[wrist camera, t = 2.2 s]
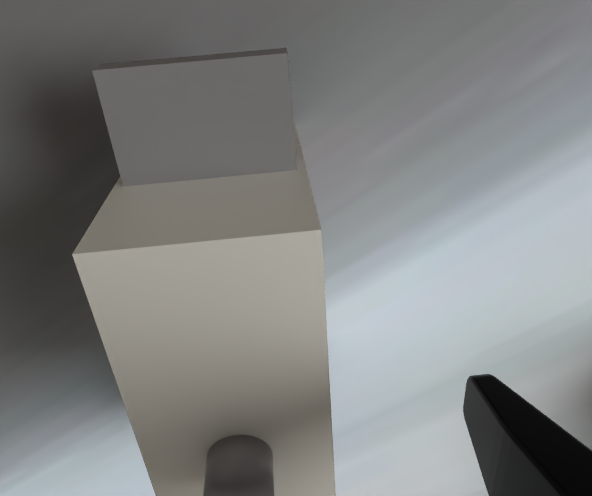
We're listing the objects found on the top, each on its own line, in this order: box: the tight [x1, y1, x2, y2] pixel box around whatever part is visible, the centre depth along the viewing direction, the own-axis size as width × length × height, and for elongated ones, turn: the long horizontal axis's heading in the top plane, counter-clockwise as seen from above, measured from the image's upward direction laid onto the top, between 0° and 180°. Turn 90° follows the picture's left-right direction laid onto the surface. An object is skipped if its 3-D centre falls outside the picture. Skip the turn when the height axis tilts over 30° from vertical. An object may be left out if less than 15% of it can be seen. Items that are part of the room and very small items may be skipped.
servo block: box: [72, 48, 336, 496], centre depth 12 cm, size 4×12×7 cm, turn 4°
